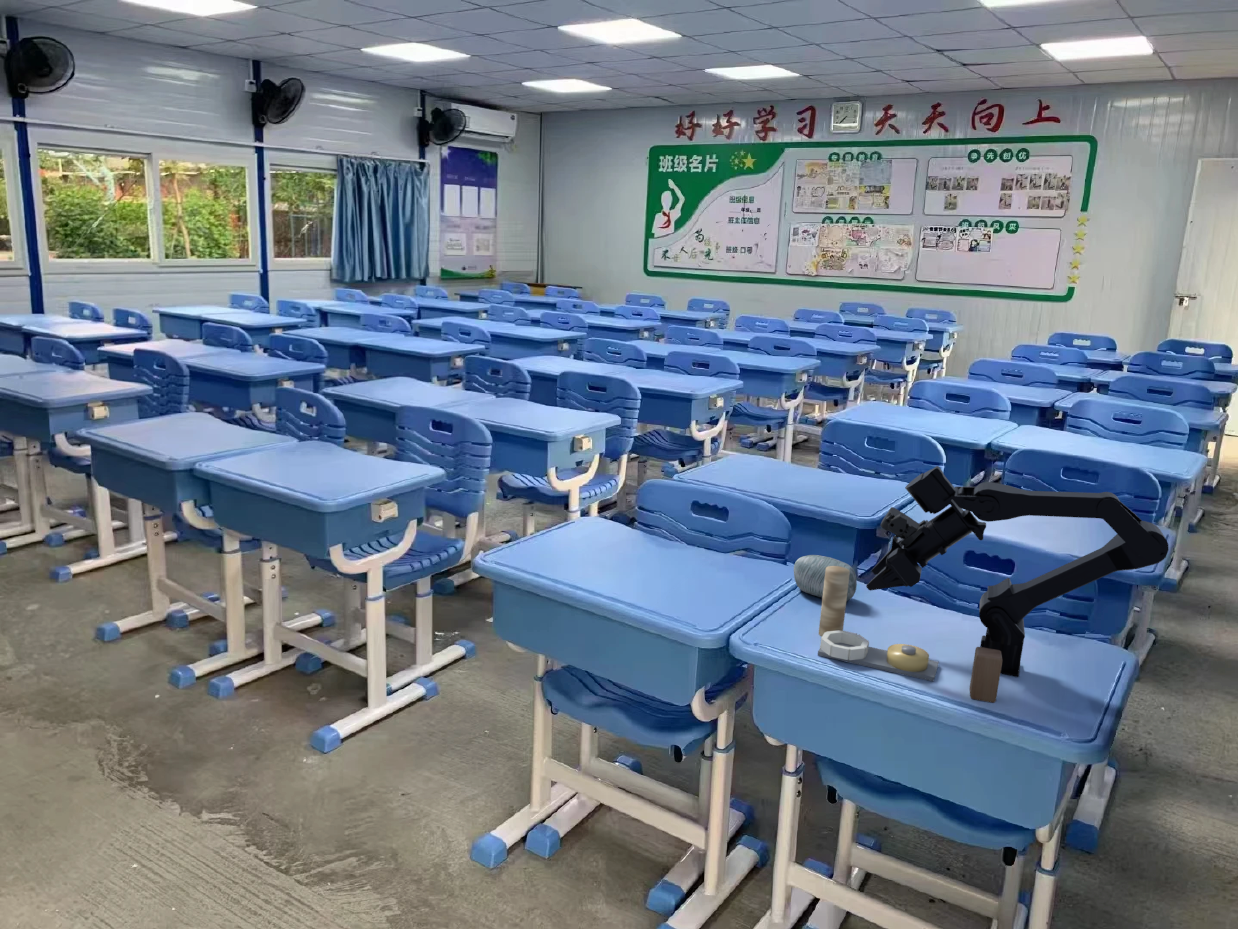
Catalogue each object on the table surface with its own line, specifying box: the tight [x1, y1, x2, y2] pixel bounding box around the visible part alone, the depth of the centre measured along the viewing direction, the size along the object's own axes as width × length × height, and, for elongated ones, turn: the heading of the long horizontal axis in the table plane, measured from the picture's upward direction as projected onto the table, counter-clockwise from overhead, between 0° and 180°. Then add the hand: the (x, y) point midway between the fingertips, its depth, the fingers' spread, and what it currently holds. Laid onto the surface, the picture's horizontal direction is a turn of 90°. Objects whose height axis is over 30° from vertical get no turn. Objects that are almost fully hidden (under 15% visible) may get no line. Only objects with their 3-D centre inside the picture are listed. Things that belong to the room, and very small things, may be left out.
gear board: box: [817, 629, 940, 682], centre depth 168 cm, size 20×8×4 cm, turn 65°
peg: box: [818, 566, 850, 638], centre depth 178 cm, size 4×4×13 cm
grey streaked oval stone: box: [793, 554, 858, 602], centre depth 199 cm, size 14×10×10 cm
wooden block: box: [969, 646, 1002, 704], centre depth 157 cm, size 4×4×8 cm
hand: (870, 580), depth 174 cm, fingers open, 9 cm apart
